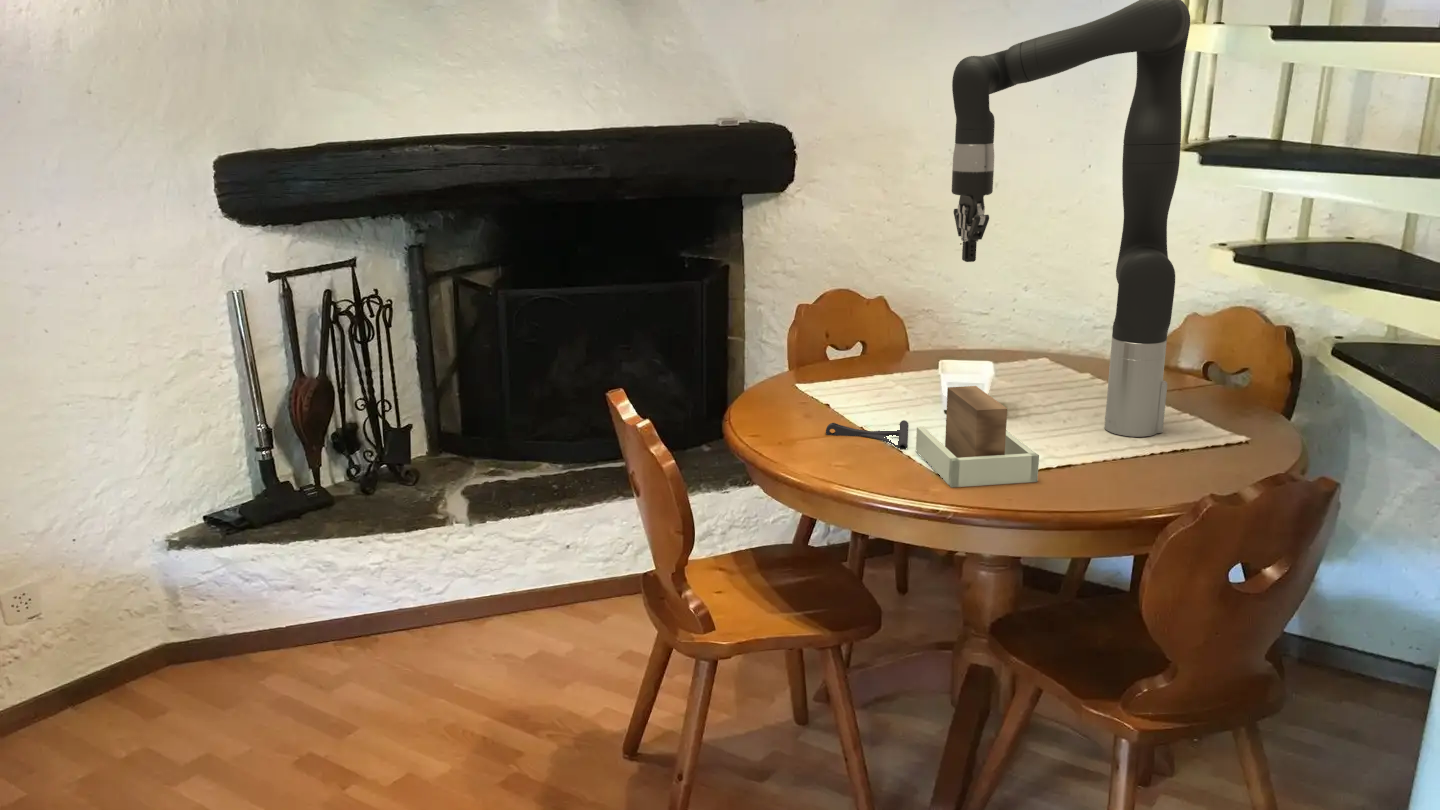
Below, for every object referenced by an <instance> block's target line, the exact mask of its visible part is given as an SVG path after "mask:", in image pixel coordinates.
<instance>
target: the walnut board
mask: <svg viewBox="0 0 1440 810" xmlns="http://www.w3.org/2000/svg"><path fill="white" fill-rule="evenodd" d="M946 393H947V395H946V396H947V397H946V415H945V416H946V417H945V438H944V439H945V440H944V446H945V447H946V448H947V449H948V450H949V451H950V452H951V453H952V454H954V455H955V456H956V457H957V458H963V457H979V456H994V455H1005V439H1006V430H1007V422H1008V421H1007V420H1008V408H1007V407H1006V406H1004V405H1003V404H1002V403H1001V402H999V401H997V400H996V399H995V398H993V397H992V396H991V395H989V394H988V393H986V392H985V391H983V389H981V388H980V387H978V386H977V385H970V386H969V385H968V386H967V385H966V386H949V387H947V392H946Z"/></svg>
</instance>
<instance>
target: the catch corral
mask: <svg viewBox="0 0 1440 810" xmlns="http://www.w3.org/2000/svg"><path fill="white" fill-rule="evenodd" d="M915 438H916V441H915V451H916V450H917V452H918V453H919V454H920V455H921V456H922V457H923V458H924V459H925V460H926V461H927V462H928V463H929V464H930V465H931V466H932V467H933V468H934V469H933V468H932V467H931V466H930V465H929V464H928V463H927V462H926V461H925V460H924V459H923V458H922V457H921V456H920V455H919V454H918V453H917V452H916V453H917V454H918V455H919V456H920V457H921V458H922V459H923V460H924V461H925V462H926V463H927V464H928V465H929V466H930V467H931V468H932V469H933V471H934V472H935V473H936V474H937V473H938V474H939V475H940V476H939V475H938V474H937V475H938V476H939V477H940V478H941V479H942V478H943V479H942V480H943V481H944V482H945V483H946V484H947V485H948V486H949V487H950V488H961V487H962V488H963V487H978V486H979V487H980V486H992V485H993V486H994V485H1009V484H1025V483H1037V482H1038V478H1039V466H1040V464H1039V463H1040V455H1039V454H1038V452H1036V451H1035V450H1033V449H1032V448H1031V447H1029V446H1028V445H1027V444H1025V443H1024V442H1023V441H1021V440H1020V439H1019V438H1017V437H1016V436H1015V435H1013V433H1011V432H1010V431H1008V429H1006V439H1005V455H994V456H979V457H963V458H957V457H956V456H955V455H954V454H952V453H951V452H950V451H949V450H948V449H947V448H946V447H945V444H943V443H941V441H940V440H939V439H938V438H936V436H935V435H933V434H932V433H931V432H930V431H929V430H928V429H927V428H926V427H925V426H916V436H915Z"/></svg>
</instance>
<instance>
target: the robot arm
mask: <svg viewBox="0 0 1440 810" xmlns="http://www.w3.org/2000/svg"><path fill="white" fill-rule="evenodd" d="M1190 28H1191V15H1190V11H1189V8H1188V6H1187V5H1186V4H1185V2H1184V1H1183V0H1137V1H1135V2H1133V3H1131V4H1129V5H1127V6H1125V7H1123V8H1121V9H1119V10H1117V11H1115V12H1113V13H1110V14H1108V15H1105V16H1103V17H1100V18H1098V19H1096V20H1093V21H1090V22H1086V23H1084V24H1081V25H1078V26H1073V27H1071V28H1066V29H1063V30H1059V31H1058V30H1057V31H1055V32H1051V33H1048V34H1044V35H1040V36H1037V37H1034V38H1031V39H1030V38H1029V39H1028V40H1024V41H1021V42H1018V43H1014V45H1012V46H1010V47H1008V48H1006V49H1005V50H1001V51H997V52H994V53H991V54H987V55H969V56H966V57H964V58H963V59H960V61H959V62H958V63H957V64H956V66H955V68H954V71H953V74H952V81H951V83H952V84H951V88H952V99H953V106H954V107H953V108H954V114H955V118H956V119H955V120H956V121H955V131H954V132H955V138H954V139H955V141H954V148H953V155H952V171H951V173H952V174H951V175H952V176H951V193H952V194H953V195H955V196H959V199H958V200H959V201H958V204H957V208H954V209H953V215H954V221H955V226H956V231H957V235H958V237H960V239H961V242H962V248H961V250H962V253H961V260H962V261H964V262H966V263H973V262H976V260H977V244H978V243H977V242H979V240H983V237H984V234H985V231H986V229H987V227H988V224H989V221H990V215H989V214H985V209H986V206H985V199H984V197H985V196H989V195H992V194H993V192H994V191H993V189H994V172H995V169H994V168H995V144H994V141H995V129H996V128H995V124H996V123H995V116H994V114H993V112H992V111H991V109H990V95H991V94H995V93H998V92H1001V91H1003V90H1007V89H1009V88H1011V87H1014V86H1016V85H1020V84H1026V83H1029V82H1030V83H1031V82H1034V81H1037V80H1042V79H1045V78H1048V77H1051V76H1054V75H1058V74H1060V73H1064V72H1066V71H1069V70H1071V69H1074V68H1077V67H1079V66H1081V65H1084V64H1086V63H1089V62H1092V61H1096V60H1098V59H1102V58H1105V57H1110V56H1114V55H1120V54H1121V55H1122V54H1127V53H1128V54H1129V53H1136V78H1135V79H1136V81H1135V87H1134V92H1133V97H1132V101H1131V103H1130V108H1129V111H1128V116H1127V119H1126V123H1125V129H1124V133H1123V134H1124V135H1123V145H1122V146H1123V148H1122V168H1121V169H1122V171H1121V172H1122V173H1121V174H1122V180H1121V182H1122V183H1121V184H1122V204H1123V205H1122V206H1123V222H1122V223H1123V224H1122V226H1123V227H1122V232H1121V238H1120V246H1119V252H1118V256H1117V257H1118V258H1117V263H1116V268H1115V278H1116V282H1117V285H1118V286H1117V287H1118V288H1117V298H1116V307H1115V309H1116V310H1115V315H1114V317H1115V318H1114V321H1113V323H1112V333H1111V343H1110V358H1109V359H1110V360H1109V368H1108V370H1109V371H1108V381H1107V382H1108V383H1107V392H1106V394H1107V395H1106V404H1105V406H1106V407H1105V416H1104V429H1105V430H1106V431H1108V432H1109V433H1112V434H1115V435H1120V436H1124V437H1125V436H1126V437H1134V438H1135V437H1137V438H1141V437H1151V436H1154V435H1156V434H1162V433H1163V431H1164V424H1165V423H1164V421H1165V410H1166V401H1167V392H1168V391H1167V390H1168V382H1167V381H1166V380H1165V379H1164V371H1165V370H1164V369H1165V362H1166V353H1167V351H1166V350H1167V341H1168V332H1169V328H1170V326H1171V321H1172V315H1173V307H1174V306H1173V305H1174V298H1175V289H1176V288H1175V287H1176V271H1175V268H1174V265H1173V262H1171V260H1170V259H1169V255H1168V253H1169V252H1168V216H1169V212H1170V208H1171V204H1172V200H1173V197H1174V194H1175V189H1176V184H1177V180H1178V177H1179V176H1178V175H1179V168H1180V159H1181V144H1182V143H1181V142H1182V77H1183V68H1184V62H1185V56H1186V50H1187V49H1186V48H1187V44H1188V38H1189V33H1190Z"/></svg>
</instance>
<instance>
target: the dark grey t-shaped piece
mask: <svg viewBox="0 0 1440 810" xmlns="http://www.w3.org/2000/svg"><path fill="white" fill-rule="evenodd" d="M899 425H900V430H897V431H880V430H864V429H858V428H853V427H849V426H845V425H841V424H838V423H836V422H831V423H829V424H828V425H827V427H826V430H825V434H826V436H838V437H839V436H841V437H863V438H870V439H874V440H878V439H879V441H881V440H883V441H882V442H884V441H886V442H885V443H887V442H889V443H891V444H893V445H894V446H895V447H898V448H900V449H901V446H904V448H905V447H906V448H907V449H908V445H909V443H908V442H909V422H908V421H907V420H904V419H903V420H901V421H900V422H899ZM831 430H834V432H831ZM889 435H892V436H893V435H896V436H899V438H898V439H899V441H898V445H895V444H894V443H892V442H891V440H890V441H889V439H887V437H886V436H889ZM884 437H885V438H884ZM889 443H888V444H889ZM891 444H890V445H891ZM894 446H893V447H894ZM895 447H894V448H895ZM898 448H897V449H898Z"/></svg>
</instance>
